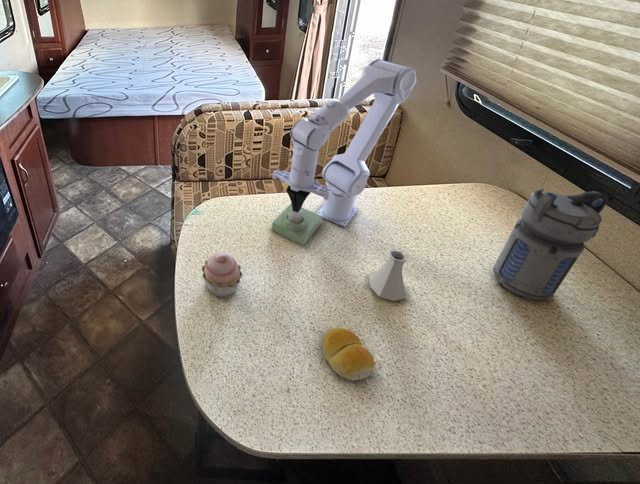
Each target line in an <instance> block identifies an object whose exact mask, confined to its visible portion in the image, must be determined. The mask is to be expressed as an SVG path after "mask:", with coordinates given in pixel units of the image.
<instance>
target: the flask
mask: <svg viewBox="0 0 640 484" xmlns="http://www.w3.org/2000/svg"><path fill="white" fill-rule="evenodd" d="M388 254H389V256H388V259H387V260H386V261H385V263H384V264H383V265H382V266H381V267H380V268H378V269H377V270H376V271H375V272H373V273H372V274H371V275H370V276H369V277H368V280H369V281H368V282H369V287H370V288H371V290H373V292H374V293H375V294H376V295H377V296H378V297H379V298H382V299H386V300H389V301H393V302H397V301H400V300H404V299H406V292H405V291H406V290H405V284H404V278H403V269H404V268H403V267H404V264H405V263H407V259H408V258H407V255H406V254H405V253H404V252H403V251H400V250H397V249H394V250H393V249H392V250H390V251H388Z"/></svg>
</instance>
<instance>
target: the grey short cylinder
mask: <svg viewBox="0 0 640 484" xmlns="http://www.w3.org/2000/svg"><path fill="white" fill-rule="evenodd" d="M288 219H289V221H291V222H293V223H301V222H302V219H303V212H302V211H301V210H300V211H299V212H298V213H297V212H294V211H293V209H291V210H289V214H288Z"/></svg>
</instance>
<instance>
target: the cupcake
mask: <svg viewBox="0 0 640 484" xmlns="http://www.w3.org/2000/svg"><path fill="white" fill-rule="evenodd" d="M241 269H242V266H241V265H240V264H238V262H237V260H236V258H235V257H233V256H232V255H231V254H229V253H227V252H219V253H213V254H211V255H210V256H209V257H208V259H206V260H204V265H202V266H201V271H202V275H201V277H202V279H203V280H204V281H205V283H206V286H207V289H208V290H209V292H210V293H211V294H212V295H214V296H215V297H218V298H219V297H220V298H226V297H229V296H231V295H232V294H234V292H235V291H236V289H237V286H239V284H240V283H241V278H243V276H244V273H243V272H242V271H241Z"/></svg>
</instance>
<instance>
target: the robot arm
mask: <svg viewBox="0 0 640 484" xmlns="http://www.w3.org/2000/svg"><path fill="white" fill-rule="evenodd" d="M416 73H417V72H416V69H414V68H413V67H410V66H405V65H401V64H397V63H393V62H389V61H386V60H383V59H381V58H375V59H373V60H371V61H370V62H369V63H368V64H367V65H366V66H365V67H363V70H362V72H361V77H360V78H359V79H358V80H357V81H356V82H355V83H354V84H353V85H352V86H351V87H349V89H347V90H346V92H345V93H343V94H342V95H341V96H340V98H338V99H329V101H327V102H326V103H325V104H323V105H322V106H321V107H320V108H319V109H317V110H316V111H314V113H312V114H311V115H310V116H309V117H307V118H301V119H299V120H297V121H296V122H295V123H293V125H292V127H291V130H290V131H289V136H290V138H291V139H292V144H291V145H292V147H293V152H292V158H291V164H290V165H291V166H290V172H289V171H283V170H279V169H275V170H274V171H273V172H272V180H274V181H277V180H279V181H281V182H284V183H285V184H287V185H288V186H287V187H286V188H285V189H286V193H287V195H288V197H289V199H290V204H291V203H292V209H293V211H294V212H297V213H298V212H299V211H300V210H301V207H302V208H303V205H304V203H305V201H306V200H307V198H308V197H309V195H310V194H314V195H317V196H320V197H322V198H323V204H322V206H321V207H320V209H319V210H318V211H317V212H316V214H318V215H321V216H322V219H325V220H327V221H329V222H332V223H334V224H336V225H339V226H341V227H344V228H345V227H347V225H348V224H349V222H350V221H351V220H352V219H353V217H354V215H355V214H356V213H357V211H358V209H357V208H355V203H356V200H357V196H359V195H360V194H361V193H362V192H363V191H364V190H365V188H366V186H367V183H368V182H367V181H368V179H369V177H370V175H371V172H370V170H369V168H368V166H367V164H366V161H367V159H368V157H369V155H370V154H371V153H372V150H373V149H374V147H375V145H376V144H377V142H378V140H379V139H380V137H381V135H382V134H383V132H384V130H385V129H386V127H387V126H388V124H389V122H390V121H391V119H392V117H393V116H394V114H395V112H396V110H397V109H398V107H399V105H400V104H404V103H405V101H406V100H407V98H408V97H409V95H410V93H412V91H413V88H414V87H415V85H416V83H417V74H416ZM371 95H373V97H374V101H373V103H372V105H371V107H370V108H369V110H368V112H367V113H366V115H365V117H364V119H363V121H362V123H361V124H360V126H359V128H358V129H357V131H356V133H355V134H354V136H353V138H352V140H351V142H350V143H349V145H348V147H347V148H346V150H345V152H344V153H341V154H340V153H339V154H336V155H335V154H334V155H333V156H332V159H331V160H329V162H328V163H327V164H325V166H324V168H323V170H322V178H323V180H325V183H324V184H325V185H326V186H324V185H322V184H321V183H320V182H317V181H316V180H315V178H316V177H315V176H316V172H317V167H318V165H317V164H318V159H319V154H320V148H322V147H324V145H325V144H326V142H327V141H328V139H329V137H331V135H332V132H333V131H334V130H335V129H336V128H337V127H339V126H340V125H341V124H342V123H343V122H345V121H346V120H347V119H348V118H349V116H350V111H351V109H353V108H354V107H357V106H358V105H359V104H361V103H362V102H363V101H365V100H366V99H368V98H369V97H370V96H371Z"/></svg>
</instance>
